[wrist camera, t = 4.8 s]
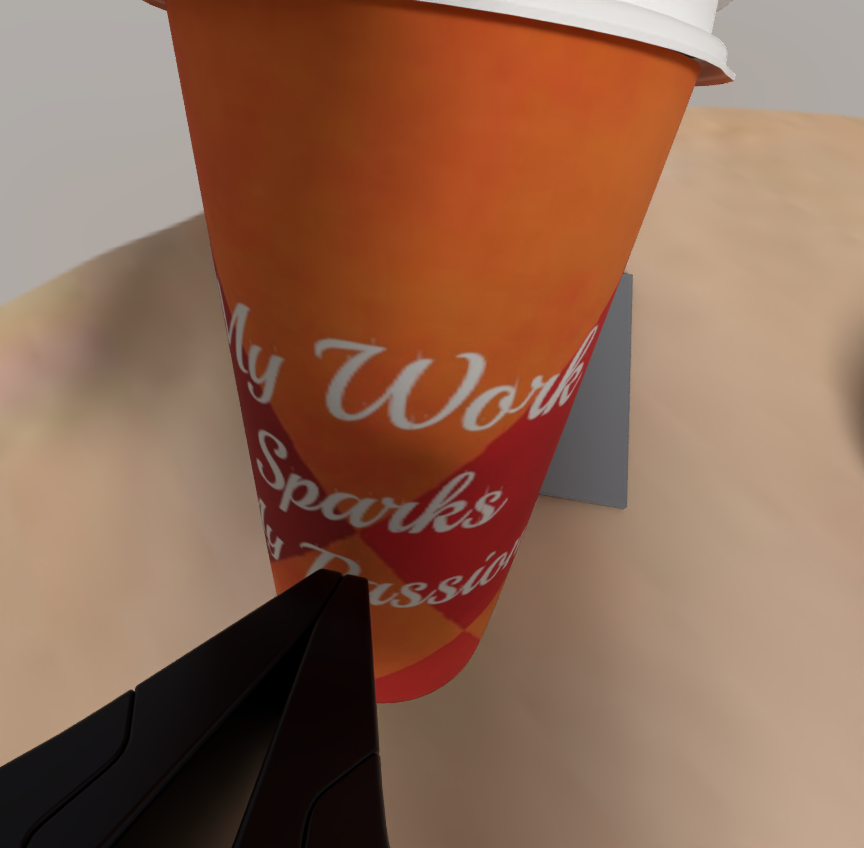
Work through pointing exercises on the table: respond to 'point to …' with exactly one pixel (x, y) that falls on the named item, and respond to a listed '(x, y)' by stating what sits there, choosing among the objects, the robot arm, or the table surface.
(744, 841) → the table surface
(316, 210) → the paper cup
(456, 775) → the table surface
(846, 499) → the table surface
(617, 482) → the mat
